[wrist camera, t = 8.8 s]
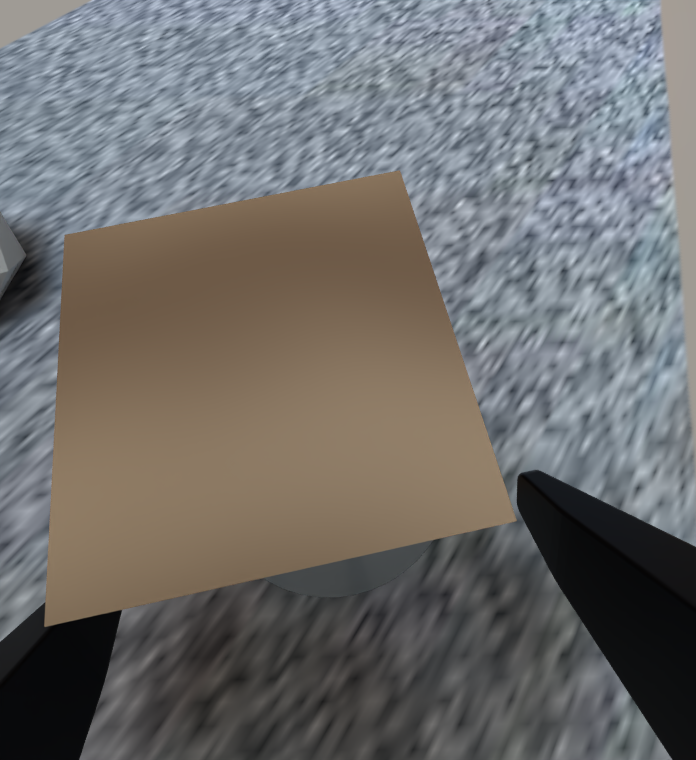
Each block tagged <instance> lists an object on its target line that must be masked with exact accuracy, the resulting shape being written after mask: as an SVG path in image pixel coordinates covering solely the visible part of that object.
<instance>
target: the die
mask: <svg viewBox="0 0 696 760" xmlns="http://www.w3.org/2000/svg"><path fill="white" fill-rule="evenodd" d="M25 257H26V254H25V252H24V250H23V249H22V247H21V245H20V244H19V242H18V240H17V239H16V237H15V235H14V234H13V232H12V230H11V229H10V227H9V226H8V224H7V222H6V221H5V219H4V217H3V216H2V214H1V212H0V299H1V298H2V296H3V294H4V292H5V291H6V289H7V287H8V286H9V284H10V282H11V281H12V279H13V277H14V276H15V274H16V272H17V271H18V269H19V267H20V265H21V264H22V262H23V260H24V259H25Z"/></svg>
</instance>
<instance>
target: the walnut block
mask: <svg viewBox="0 0 696 760" xmlns="http://www.w3.org/2000/svg"><path fill="white" fill-rule="evenodd" d="M515 521H517V520H516V517H515V514H514V511H513V508H512V505H511V502H510V499H509V496H508V493H507V490H506V487H505V484H504V481H503V478H502V475H501V472H500V469H499V466H498V463H497V460H496V457H495V454H494V451H493V448H492V445H491V442H490V439H489V436H488V433H487V430H486V427H485V424H484V421H483V418H482V415H481V412H480V409H479V406H478V403H477V400H476V397H475V394H474V391H473V388H472V385H471V382H470V379H469V376H468V373H467V370H466V367H465V364H464V361H463V358H462V355H461V352H460V349H459V346H458V343H457V340H456V337H455V334H454V331H453V328H452V325H451V322H450V319H449V316H448V313H447V310H446V307H445V304H444V301H443V298H442V295H441V292H440V289H439V286H438V283H437V280H436V277H435V274H434V271H433V268H432V265H431V262H430V259H429V256H428V253H427V250H426V247H425V244H424V241H423V238H422V235H421V232H420V229H419V226H418V223H417V220H416V217H415V214H414V211H413V208H412V205H411V202H410V199H409V196H408V193H407V190H406V187H405V184H404V181H403V178H402V175H401V172H400V171H394V172H389V173H384V174H379V175H374V176H368V177H363V178H358V179H353V180H348V181H342V182H337V183H332V184H327V185H322V186H317V187H311V188H306V189H301V190H296V191H291V192H285V193H280V194H275V195H270V196H265V197H259V198H254V199H249V200H244V201H239V202H233V203H228V204H223V205H218V206H213V207H208V208H202V209H197V210H192V211H187V212H182V213H176V214H171V215H166V216H161V217H156V218H150V219H145V220H140V221H135V222H130V223H124V224H119V225H114V226H109V227H104V228H98V229H93V230H88V231H83V232H78V233H73V234H67V235H65V238H64V257H63V276H62V296H61V315H60V334H59V353H58V373H57V392H56V411H55V430H54V450H53V469H52V488H51V507H50V527H49V546H48V565H47V584H46V604H45V623H44V627H47V626H51V625H56V624H60V623H65V622H69V621H73V620H78V619H82V618H87V617H91V616H96V615H100V614H105V613H109V612H114V611H118V610H123V609H127V608H131V607H136V606H140V605H145V604H149V603H154V602H158V601H163V600H167V599H172V598H176V597H181V596H185V595H189V594H194V593H198V592H203V591H207V590H212V589H216V588H221V587H225V586H230V585H234V584H239V583H243V582H247V581H252V580H256V579H261V578H265V577H270V576H274V575H279V574H283V573H288V572H292V571H297V570H301V569H305V568H310V567H314V566H319V565H323V564H328V563H332V562H337V561H341V560H346V559H350V558H355V557H359V556H364V555H368V554H372V553H377V552H381V551H386V550H390V549H395V548H399V547H404V546H408V545H413V544H417V543H422V542H426V541H430V540H435V539H439V538H444V537H448V536H453V535H457V534H462V533H466V532H471V531H475V530H480V529H484V528H488V527H493V526H497V525H502V524H506V523H511V522H515Z"/></svg>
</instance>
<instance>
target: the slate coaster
mask: <svg viewBox="0 0 696 760" xmlns="http://www.w3.org/2000/svg"><path fill="white" fill-rule="evenodd" d="M432 541H433V540H430V541H426V542H422V543H417V544H413V545H408V546H404V547H399V548H395V549H390V550H386V551H381V552H377V553H372V554H368V555H364V556H359V557H355V558H350V559H346V560H341V561H337V562H332V563H328V564H323V565H319V566H314V567H310V568H305V569H301V570H297V571H292V572H288V573H283V574H279V575H274V576H270V577H265V578H264V579H265V580H267V581H268V582H270V583H272V584H274V585H276V586H279V587H281V588H283V589H285V590H288V591H291V592H294V593H298V594H301V595H307V596H313V597H331V598H337V597H344V596H351V595H356V594H360V593H363V592H366V591H370V590H373V589H375V588H377V587H379V586H381V585H384V584H386V583H388V582H389V581H391V580H392V579H394V578H396V577H397V576H399V575H400V574H402V573H403V572H404V571H406V570H407V569H408V568H409V567H410V566H411V565H412V564H414V563H415V562H416V561H417V560H418V559H419V558H420V556H421V555H422V554H423V553H424V552H425V551H426V549H427V548H428V547H429V546H430V544H431V543H432Z"/></svg>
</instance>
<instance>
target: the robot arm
mask: <svg viewBox="0 0 696 760" xmlns="http://www.w3.org/2000/svg"><path fill="white" fill-rule="evenodd" d="M517 506H518V509H519V512H520V514H521V516H522V518H523V520H524V521H525V523H526V525H527V527H528V529H529V531H530V533H531V535H532V537H533V539H534V541H535V543H536V544H537V546H538V548H539V550H540V552H541V554H542V556H543V558H544V560H545V562H546V564H547V566H548V568H549V569H550V571H551V573H552V575H553V577H554V578H555V580H556V582H557V583H558V585H559V587H560V588H561V590H562V591H563V593H564V594H565V596H566V598H567V599H568V601H569V602H570V604H571V605H572V607H573V608H574V610H575V611H576V613H577V614H578V616H579V617H580V619H581V621H582V622H583V624H584V625H585V627H586V628H587V630H588V631H589V633H590V634H591V636H592V637H593V639H594V640H595V642H596V644H597V645H598V647H599V648H600V650H601V651H602V653H603V654H604V656H605V657H606V659H607V660H608V662H609V663H610V665H611V666H612V668H613V670H614V671H615V673H616V674H617V676H618V677H619V679H620V680H621V682H622V683H623V685H624V686H625V688H626V689H627V691H628V693H629V694H630V696H631V697H632V699H633V700H634V702H635V703H636V705H637V706H638V708H639V709H640V711H641V712H642V714H643V716H644V717H645V719H646V720H647V722H648V723H649V725H650V726H651V728H652V729H653V731H654V732H655V734H656V735H657V737H658V738H659V740H660V742H661V743H662V745H663V746H664V748H665V749H666V751H667V752H668V754H669V755H670V757H671V758H672V760H696V547H695V546H693V545H691V544H689V543H687V542H685V541H683V540H681V539H679V538H677V537H675V536H673V535H670V534H668V533H666V532H664V531H662V530H660V529H658V528H656V527H654V526H652V525H650V524H648V523H646V522H644V521H642V520H640V519H638V518H636V517H634V516H632V515H630V514H628V513H626V512H623V511H621V510H619V509H617V508H615V507H613V506H611V505H609V504H607V503H605V502H603V501H601V500H599V499H597V498H595V497H593V496H591V495H589V494H587V493H585V492H583V491H581V490H579V489H576V488H574V487H572V486H570V485H568V484H566V483H564V482H562V481H560V480H558V479H556V478H554V477H552V476H550V475H548V474H546V473H544V472H542V471H539V470H533V471H528V472H523V473H521V474H519V476H518V479H517ZM45 604H46V602H45V603H44V604H43V605H41V606H40V607H39V608H38V609H37V610H36V611H35V612H34V613H32V614H31V615H30V616H29V617H28V618H27V619H26V620H25V621H23V622H22V623H21V624H20V625H19V626H18V627H17V628H15V629H14V630H13V631H12V632H11V633H10V634H9V635H8V636H6V637H5V638H4V639H3V640H2V641H1V642H0V760H79V758H80V755H81V752H82V749H83V746H84V743H85V740H86V737H87V734H88V731H89V728H90V725H91V722H92V719H93V716H94V713H95V710H96V707H97V704H98V701H99V698H100V695H101V691H102V688H103V685H104V682H105V678H106V674H107V670H108V667H109V662H110V658H111V654H112V650H113V646H114V641H115V637H116V633H117V629H118V624H119V620H120V616H121V612H122V610H118V611H114V612H109V613H105V614H100V615H96V616H91V617H87V618H82V619H78V620H73V621H69V622H65V623H60V624H56V625H51V626H47V627H44V623H45Z"/></svg>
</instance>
